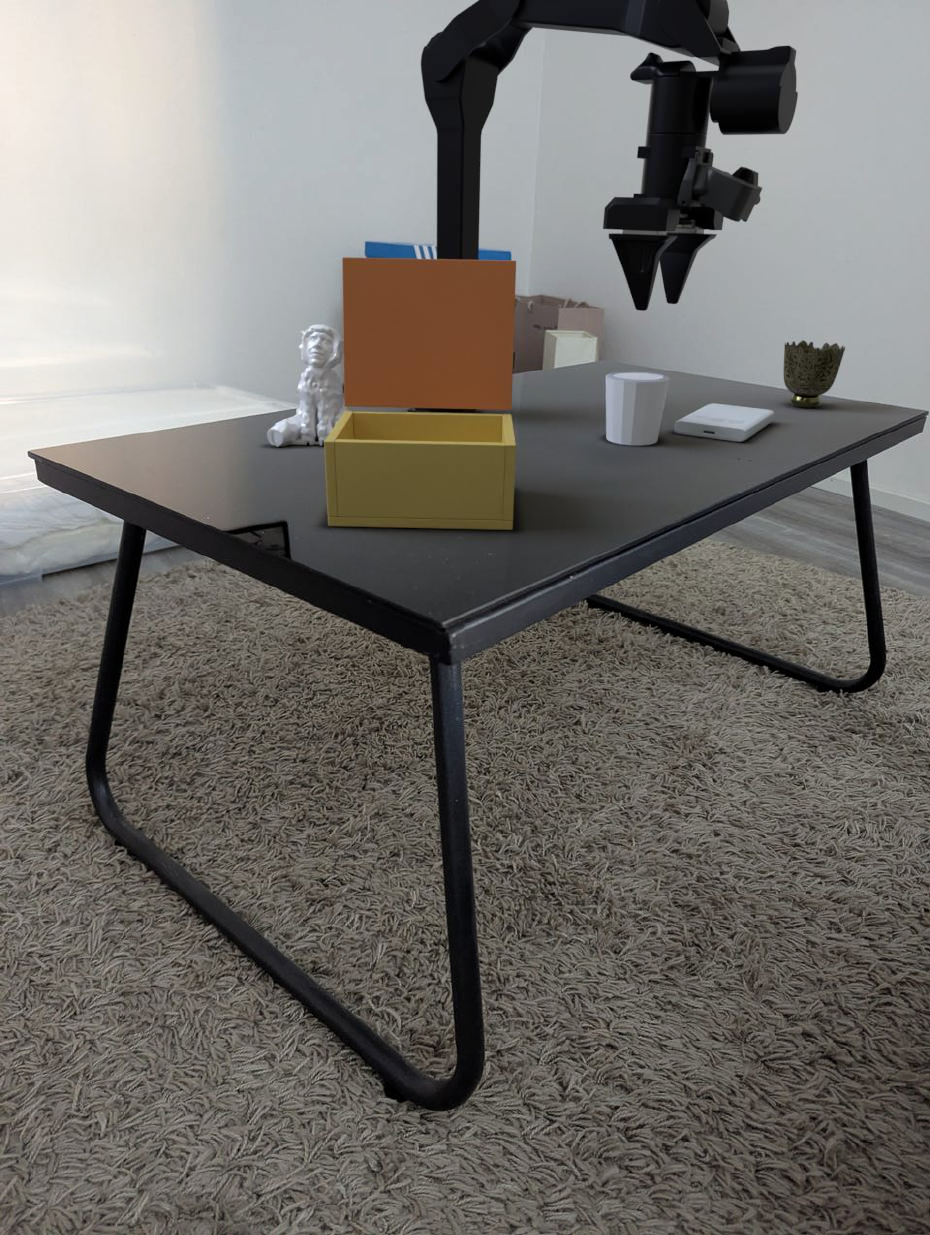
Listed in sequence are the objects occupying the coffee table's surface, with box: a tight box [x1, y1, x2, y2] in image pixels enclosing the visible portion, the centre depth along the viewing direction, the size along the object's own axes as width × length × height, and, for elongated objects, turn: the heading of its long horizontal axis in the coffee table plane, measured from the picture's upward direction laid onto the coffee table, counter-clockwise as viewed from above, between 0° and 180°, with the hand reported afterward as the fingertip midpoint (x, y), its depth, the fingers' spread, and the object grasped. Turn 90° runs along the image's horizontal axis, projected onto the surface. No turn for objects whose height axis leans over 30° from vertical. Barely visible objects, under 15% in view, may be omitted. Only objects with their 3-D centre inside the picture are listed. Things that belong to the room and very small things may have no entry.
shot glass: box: [605, 370, 671, 446], centre depth 99 cm, size 7×7×7 cm
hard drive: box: [673, 402, 775, 443], centre depth 106 cm, size 2×8×12 cm
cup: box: [783, 339, 846, 409], centre depth 118 cm, size 8×7×8 cm
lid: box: [341, 256, 517, 411], centre depth 77 cm, size 12×15×1 cm
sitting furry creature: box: [266, 323, 350, 448], centre depth 95 cm, size 10×9×12 cm
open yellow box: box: [323, 410, 517, 531], centre depth 75 cm, size 12×15×7 cm
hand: (657, 306), depth 93 cm, fingers open, 9 cm apart
